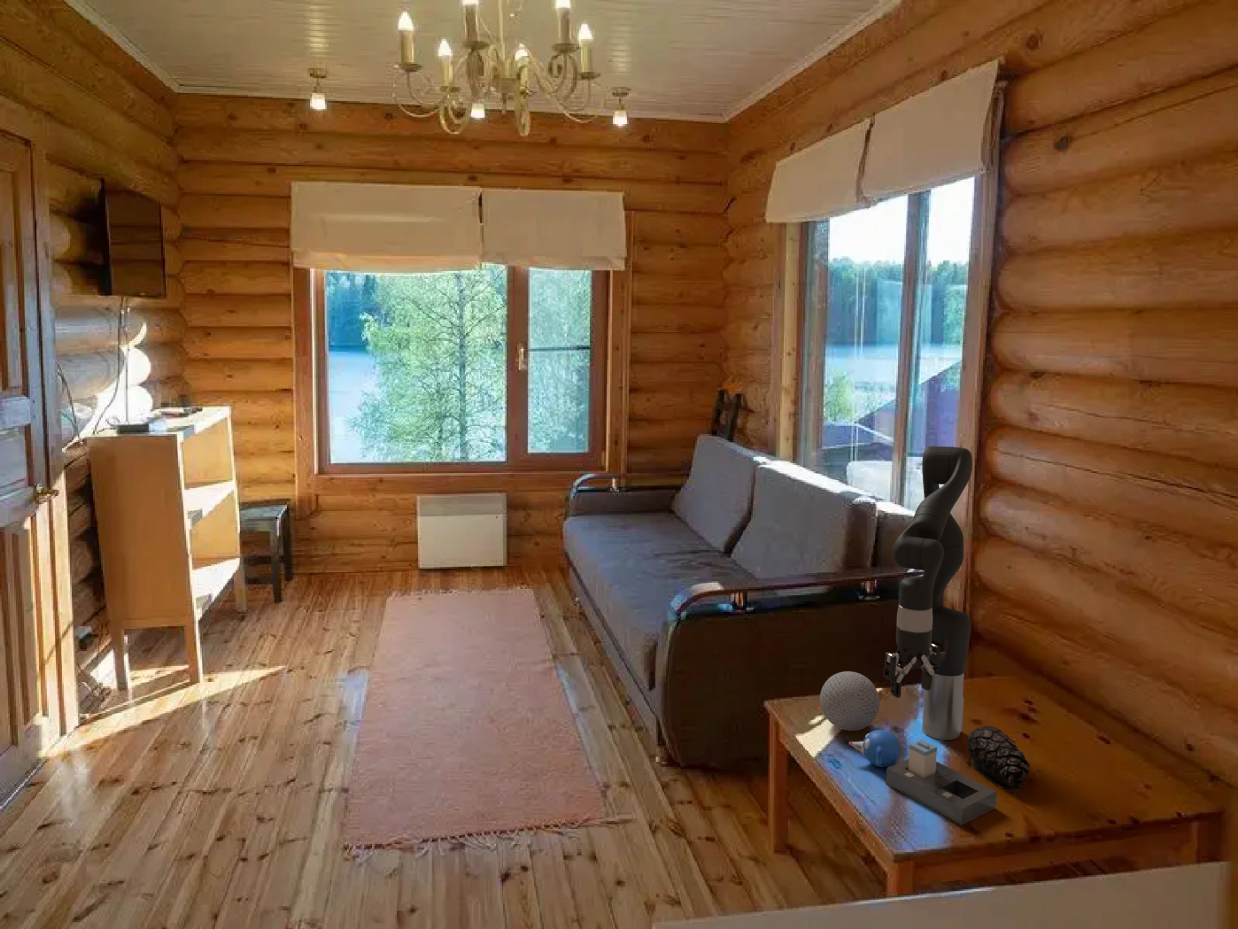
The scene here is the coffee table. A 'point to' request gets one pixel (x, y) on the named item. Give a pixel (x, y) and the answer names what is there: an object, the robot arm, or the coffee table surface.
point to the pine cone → (998, 758)
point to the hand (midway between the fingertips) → (910, 692)
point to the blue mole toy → (879, 748)
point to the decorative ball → (849, 701)
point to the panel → (944, 791)
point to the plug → (922, 759)
